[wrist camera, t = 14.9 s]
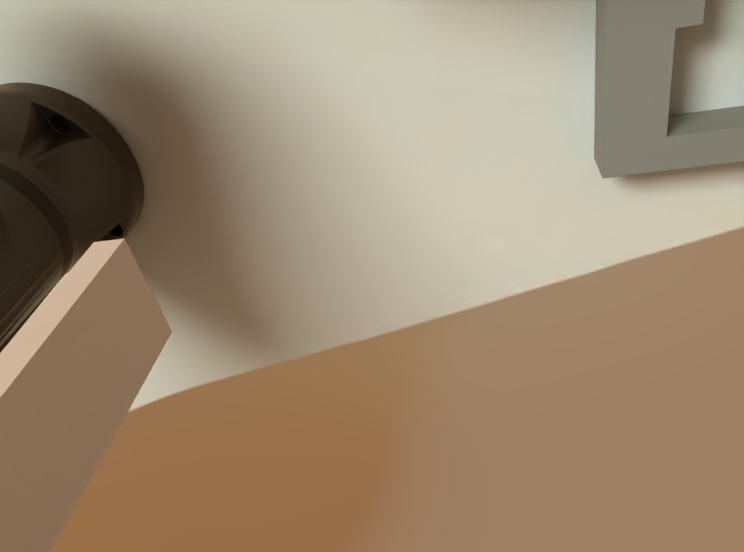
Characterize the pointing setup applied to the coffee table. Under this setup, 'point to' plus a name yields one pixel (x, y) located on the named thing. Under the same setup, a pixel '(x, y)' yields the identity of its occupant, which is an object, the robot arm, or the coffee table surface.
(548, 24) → the coffee table surface
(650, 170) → the keyhole board
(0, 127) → the robot arm
